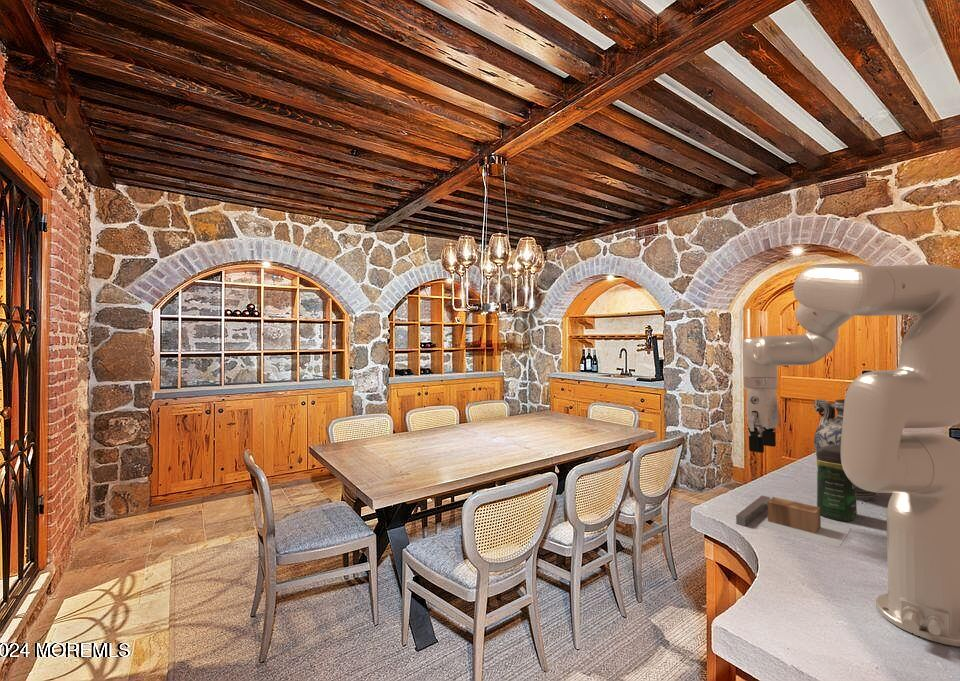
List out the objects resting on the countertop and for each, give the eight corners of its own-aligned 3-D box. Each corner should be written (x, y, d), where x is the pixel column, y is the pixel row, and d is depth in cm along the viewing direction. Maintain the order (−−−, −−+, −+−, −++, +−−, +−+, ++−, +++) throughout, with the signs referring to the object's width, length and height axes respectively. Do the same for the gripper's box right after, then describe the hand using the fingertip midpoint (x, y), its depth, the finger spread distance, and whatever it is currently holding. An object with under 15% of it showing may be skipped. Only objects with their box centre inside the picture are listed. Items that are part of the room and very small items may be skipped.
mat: (838, 548, 98) (838, 547, 98) (758, 526, 110) (758, 525, 110) (850, 529, 107) (850, 528, 107) (775, 511, 119) (775, 510, 119)
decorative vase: (918, 500, 124) (915, 402, 124) (880, 512, 117) (876, 409, 117) (834, 479, 144) (831, 394, 143) (797, 488, 137) (794, 399, 137)
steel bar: (745, 527, 109) (744, 517, 109) (736, 525, 111) (736, 515, 111) (770, 506, 123) (769, 497, 123) (762, 504, 124) (761, 495, 124)
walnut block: (767, 521, 112) (815, 533, 105) (767, 501, 112) (815, 513, 105) (773, 515, 115) (820, 527, 108) (773, 496, 115) (820, 507, 108)
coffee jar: (852, 525, 109) (851, 452, 109) (813, 516, 115) (812, 446, 115) (860, 515, 115) (859, 445, 115) (823, 506, 121) (822, 440, 121)
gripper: (766, 386, 106) (768, 457, 106) (786, 382, 118) (789, 445, 117) (732, 385, 112) (735, 452, 112) (755, 381, 123) (757, 441, 123)
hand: (762, 448), depth 115 cm, fingers open, 9 cm apart
